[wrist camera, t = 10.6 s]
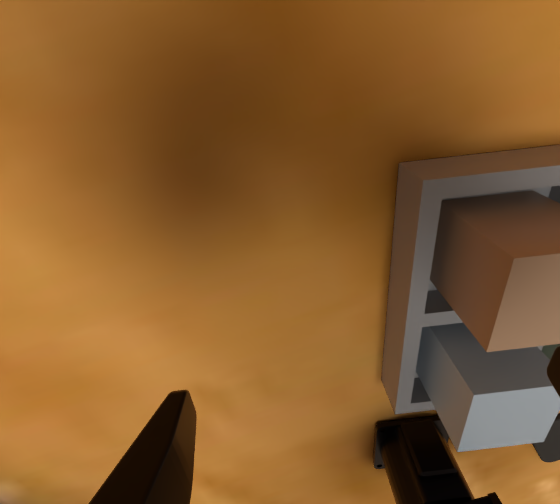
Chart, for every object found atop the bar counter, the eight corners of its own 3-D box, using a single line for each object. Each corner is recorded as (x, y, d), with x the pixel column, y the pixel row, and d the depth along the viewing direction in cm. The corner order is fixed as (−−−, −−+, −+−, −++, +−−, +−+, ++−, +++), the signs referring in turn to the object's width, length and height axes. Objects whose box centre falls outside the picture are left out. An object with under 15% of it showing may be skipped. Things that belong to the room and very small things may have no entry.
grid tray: (596, 354, 27) (697, 441, 21) (381, 379, 27) (418, 474, 20) (715, 127, 18) (946, 162, 12) (399, 162, 18) (471, 216, 12)
